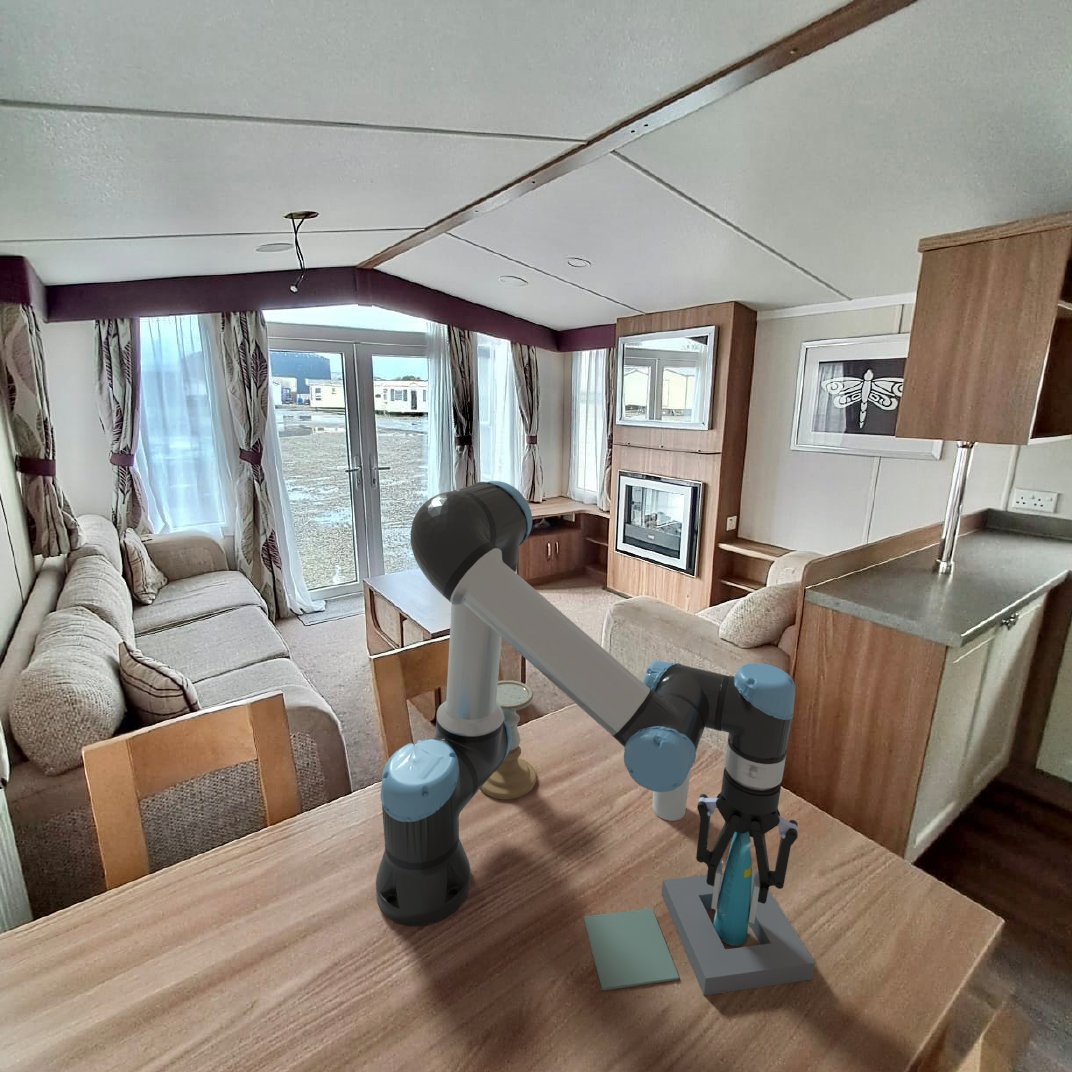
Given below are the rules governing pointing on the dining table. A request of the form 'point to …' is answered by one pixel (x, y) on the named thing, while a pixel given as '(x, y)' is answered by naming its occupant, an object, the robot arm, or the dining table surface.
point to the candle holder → (512, 746)
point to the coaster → (629, 949)
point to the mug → (671, 802)
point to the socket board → (735, 967)
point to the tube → (735, 893)
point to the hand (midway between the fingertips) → (733, 908)
